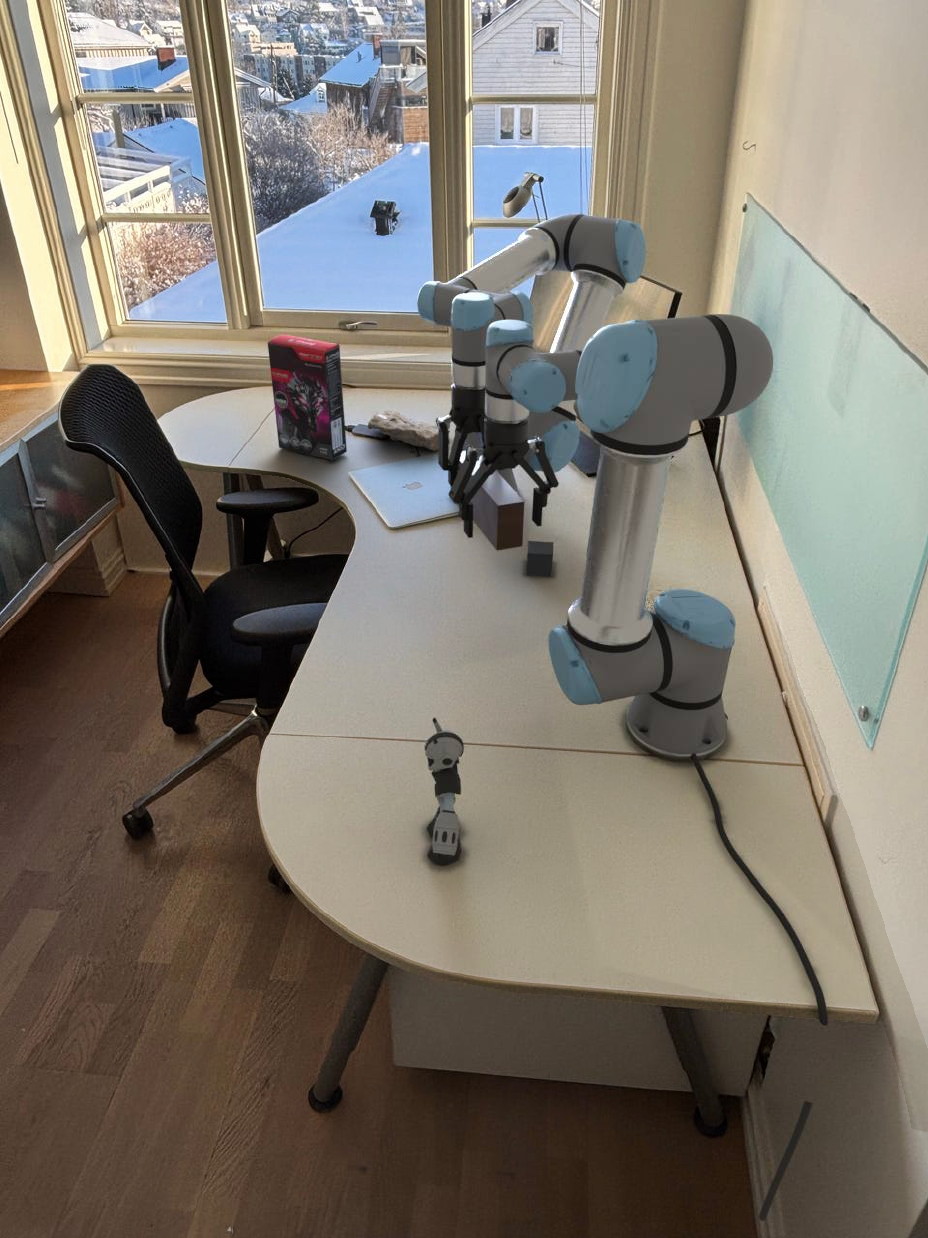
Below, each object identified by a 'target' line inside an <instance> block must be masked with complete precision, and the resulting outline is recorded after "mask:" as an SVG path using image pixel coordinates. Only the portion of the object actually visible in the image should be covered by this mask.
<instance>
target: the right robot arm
mask: <svg viewBox="0 0 928 1238" xmlns="http://www.w3.org/2000/svg"><path fill="white" fill-rule="evenodd" d="M534 343H535V339H534V329H533V326H532V325H531V324H528V323H526V322H523V321H518V320H501V321H497V322H494V323H492V324H491V325H489V327H488V329H487V337H486V345H485V348H486V370H485V415H486V417H485V419H484V444H483V446H482V447H480V448H473V447H472V446H470V445H469V446H467V447H466V453H465V459H464V461H463V463H462V466H461V468H460V470H459V472H458V474H457V477H456V479H455V481H454V483H453V485H452V487H451V486H450V489H449V492H448V497H449V499H450V500H451V501H452V502H453V503H454V504H457V503H458V515H459V518H460V519H461V520H462V521H463V533H465V535H466V537H467V538H468V539H471V538H474V521H473V504H472V502H471V499H472V498H473V497H474V496H475V494H476V493H477V492H478V490H479V489H480V488H481V486H482V485H483V484H484V482H485V481H486V480H487V478H488V477H489V476H490V475H492V474H493V473H494V472H495V471H496V469H498V470H499V471H500V470H504V469H507V468H509V469H512V470H515V469H516V467H518V466H520V468H522V470H524V472H525V473H526V475H528V476H529V477H530V478H531V480H532V481H533V482H534V483H535V484H536V486H537V487H533V489H532V490H533V493H532V510H531V521H532V522H533V523H534V524H535V525H536V527H542V524H543V523H542V522H543V508H546V507H547V506H548V495H550V494H551V492H552V489H555V488H558V487H559V484H560V483H559V481H558V479H557V475H556V474H555V473H554V472H553V469H552V467H551V465H550V462H549V460H548V458H547V456H546V453H545V442H544V441H543V440H541V439H540V438H539V437H538V436H535V437H534V438H533V440H530V441H528V440H527V438H528V429H529V419H528V416H529V411H531V412H534V413H546V412H549V411H550V410H552V409H553V408H555V407H557V406H558V405H559V404H560V403H561V401H570V400H575V403H576V407H577V412H578V415H579V417H580V420H581V422H582V423H583V424H584V426H585V427H586V428H587V429H589V435H590V437H591V439H592V440H593V442H595V443H596V444H597V445H598V447H599V456H598V463H597V470H596V471H597V472H596V479H595V487H594V494H593V502H592V511H591V517H590V525H589V526H590V527H589V532H588V540H587V541H588V542H587V549H586V556H585V564H584V574H583V579H582V588H581V595H580V597H579V598H577V599H575V600H574V601H573V602H572V603H571V604H570V606H569V608H568V612H567V618H566V624H563V625H562V624H558V625H557V626H555V627H553V628H552V629H550V631H549V634H548V652H549V657H550V661H551V665H552V670H553V673H554V675H555V678H556V680H557V683H558V685H559V687H560V689H561V691H562V693H563V694H564V696H565V697H566V698H567V700H568V701H569V702H571V703H572V704H574V705H576V706H589V705H601V704H603V703H608V702H612V701H618V700H622V699H627V698H632V697H633V699H632V701H631V702H630V704H629V706H628V708H627V711H626V719H625V728H626V732H627V734H628V736H629V738H630V739H631V741H632V742H634V744H636V745H637V746H638V747H639V748H640V749H641V750H643V751H645V752H646V753H648V754H650V755H651V756H654V757H656V758H659V759H662V760H666V761H670V762H675V763H692V764H693V765H694V768H695V770H696V772H697V774H698V777H699V778H700V781H701V783H702V785H703V788H704V789H705V791H706V793H707V796H708V798H709V801H710V803H711V807H712V811H713V816H714V821H715V825H716V830H717V833H718V835H719V838H720V840H721V842H722V844H723V845H724V847H725V849H726V850H727V853H728V854H729V855H730V857H731V858H732V860H733V861H734V863H735V864H736V865H737V866H738V868H739V869H740V871H741V872H742V873H743V875H744V876H745V877H746V879H747V880H748V881H749V883H750V884H751V885H752V887H753V888H754V890H755V891H756V892H757V893H758V894H759V896H760V897H761V898H762V899H763V900H764V902H765V903H766V904H767V905H768V907H769V908H770V910H771V911H772V912H773V913H774V915H775V916H776V917H777V919H778V921H779V922H780V924H781V926H782V927H783V929H784V930H785V932H786V934H787V935H788V937H789V939H790V940H791V943H792V944H793V946H794V948H795V951H796V952H797V954H798V957H799V959H800V961H801V964H802V966H803V969H804V971H805V973H806V976H807V978H808V980H809V983H810V985H811V987H812V990H813V994H814V997H815V1001H816V1006H817V1012H818V1013H817V1014H818V1021H819V1023H820V1025H822V1026H825V1027H826V1026H828V1025H829V1018H828V1010H827V1004H826V999H825V996H824V992H823V990H822V986H821V984H820V982H819V979H818V977H817V974H816V972H815V970H814V968H813V965H812V963H811V961H810V959H809V957H808V954H807V951H806V949H805V948H804V946H803V944H802V942H801V940H800V938H799V937H798V935H797V932H796V931H795V929H794V928H793V925H792V924H791V923H790V921H789V920H788V918H787V916H786V915H785V914H784V912H783V911H782V909H781V908H780V907H779V905H778V904H777V902H776V901H775V900H774V899H773V898H772V896H771V895H770V894H769V892H768V891H767V890H766V889H765V887H763V885H762V884H761V883H760V882H759V880H758V879H757V878H756V876H755V874H754V873H753V872H752V871H751V869H750V868H749V867H748V866H747V864H746V863H745V861H743V859H742V857H741V856H740V855H739V854H738V852H737V851H736V849H735V848H734V846H733V844H732V843H731V841H730V839H729V837H728V834H727V832H726V830H725V827H724V822H723V818H722V812H721V808H720V805H719V802H718V798H717V796H716V794H715V791H714V789H713V787H712V786H711V783H710V781H709V779H708V776H707V775H706V772H705V770H704V768H703V766H702V764H701V762H700V761H703V760H706V759H709V758H711V757H714V755H716V754H718V752H720V751H721V750H722V748H723V747H724V744H725V743H726V740H727V739H726V738H727V734H728V721H729V717H728V715H727V713H726V712H725V708H724V707H725V706H724V701H723V692H724V686H725V682H726V678H727V672H728V668H729V663H730V658H731V654H732V651H733V650H732V649H733V647H734V645H735V642H736V641H735V635H736V617H735V616H734V614H733V612H732V611H731V609H730V608H729V607H728V606H727V605H726V604H725V603H723V602H722V601H720V600H719V599H717V598H715V597H713V596H711V595H709V594H706V593H703V592H701V591H697V590H692V589H683V588H675V589H674V588H673V589H667V590H665V591H663V592H661V593H660V594H659V595H658V596H657V597H656V599H655V600H654V602H653V609H650V610H649V609H648V608H647V607H646V603H647V602H646V601H647V595H648V591H649V585H650V580H651V573H652V568H653V562H654V558H655V551H656V545H657V541H658V534H659V530H660V525H661V519H662V513H663V506H664V501H665V496H666V490H667V486H668V481H669V474H670V469H671V463H672V458H673V456H674V455H677V454H678V453H680V452H681V451H683V450H684V449H685V448H686V447H687V444H688V443H689V437H690V431H691V428H692V423H693V422H694V421H701V420H707V419H714V418H720V417H724V416H725V417H726V416H728V415H729V416H730V415H733V414H735V413H737V412H739V411H741V410H744V409H745V408H747V407H749V406H750V405H752V404H753V403H754V402H755V401H756V400H757V399H758V398H759V397H760V396H761V395H762V394H763V393H764V391H765V390H766V388H767V386H768V384H769V382H770V379H771V378H772V374H773V369H774V354H773V348H772V345H771V342H770V341H769V339H768V337H767V336H766V334H765V332H764V331H763V329H761V328H760V327H759V326H758V325H756V324H755V323H754V322H752V321H751V320H748V319H746V318H744V317H741V316H738V315H733V314H727V313H726V314H724V313H714V314H713V313H711V314H705V315H693V316H682V317H681V316H680V317H669V318H657V319H656V318H655V319H642V318H641V319H640V318H639V319H638V318H637V319H632V320H628V321H625V322H621V323H614V324H609V325H605V326H603V327H602V328H601V329H600V330H598V331H597V332H596V334H594V335H593V336H592V337H591V338H590V339H589V341H588V342H587V344H586V346H585V348H584V349H583V350H570V351H560V352H550V351H549V352H538V351H537V350H536V349H535V348H534ZM529 448H531V450H532V451H533V452H535V455H536V457H537V459H538V461H539V464H540V466H541V468H542V470H543V472H542V473H543V475H544V477H545V479H544V480H543V478H542V477H541V476H540V475H539V474H538V473H537V471H535V470H533V468H532V467H531V466H530V465H529V464H528V462H527V461H526V460H525V459H524V456H525V455H526V454H527V452H528V451H529ZM481 455H484V456H485V458H484V459H483V461H482V462H481V464H480V467H479V468H478V470H477V471H476V472H475V474H474V475H473V476H472V478H471V479H470V477H471V475H472V472H473V470H474V468H475V466H476V462H477V461H479V458H480V456H481ZM489 464H491V465H490V466H489ZM469 479H470V480H469ZM468 481H469V482H468ZM812 1106H813V1102H811V1101H806V1100H803V1103H802V1107H801V1111H800V1113H799V1116H798V1119H797V1121H796V1125H795V1127H794V1129H793V1132H792V1135H791V1137H790V1139H789V1142H788V1144H787V1147H786V1149H785V1150H784V1151H785V1152H784V1154H783V1156H782V1158H781V1160H780V1162H779V1165H778V1167H777V1169H776V1172H775V1174H774V1176H773V1179H772V1181H771V1184H770V1186H769V1189H768V1191H767V1193H766V1195H765V1196H766V1197H765V1199H764V1201H763V1204H762V1206H761V1209H760V1212H759V1215H758V1219H759V1220H760V1221H761V1222H765V1221H766V1220H767V1217H768V1214H769V1212H770V1209H771V1206H772V1204H773V1202H774V1199H775V1197H776V1194H777V1193H778V1190H779V1187H780V1185H781V1183H782V1181H783V1179H784V1176H785V1174H786V1172H787V1169H788V1167H789V1164H790V1162H791V1160H792V1158H793V1156H794V1153H795V1151H796V1149H797V1147H798V1144H799V1142H800V1139H801V1137H802V1135H803V1131H804V1129H805V1127H806V1124H807V1121H808V1118H809V1116H810V1112H811V1110H812V1108H813V1107H812Z"/></svg>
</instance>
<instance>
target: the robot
mask: <svg viewBox="0 0 928 1238" xmlns="http://www.w3.org/2000/svg"><path fill="white" fill-rule="evenodd" d="M432 723H433V725H434V728H435V731H436V733H434V734H432V735H431V736H430V737H429V738H428V739H426V742H425V745H424V747H423V749H424V752H425V753H424V755H425V757H426V758H427V769H428V770H429V771H430V772H431V776H432V779H433V780H434V782H435V783H434V797H435V798H436V800H437V803H438V805H439V806H438V808H437V810H436V811H435V814H434V817H433V819H432V820H431V821H430V822H429V823H428V825H427V827H426V830H427V833H428V835H429V837H430V838H432V841H431V846H430V847H429V850H428V852H427V858H428V860H430V861H431V862H432V864H434V865H437V866H441V867H442V866H448V865H450V864H453V863H455V862H457V861H459V860H460V856H461V854H462V846H461V841H460V837H459V836H460V833H461V830H460V820H459V815H458V813H456V811H455V807H454V805H455V803H456V795H457V796H459V795H462V782H461V781H462V780H461V776H460V774H459V769H458V768H459V767H458V765H459V764H460V758H462V755H463V754H464V749H465V746H464V745H465V744H464V741H463V739H462V738H461V737H460V736H459V734H457V733H455V732H453V731H451V730H443V729H442V727H441V725H440V723H439V721H438V720H437V718H436V717H433V718H432Z"/></svg>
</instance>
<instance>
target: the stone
mask: <svg viewBox="0 0 928 1238" xmlns="http://www.w3.org/2000/svg"><path fill="white" fill-rule="evenodd" d="M367 429H369V430H378V431H380V433H381V434H383V435H386V436H389V437H390V440H392V441H401V442H403V443H405V444H409V445H411V446H414V447H419V448H422V447H423V448H425V449H428V450H430V451H437V450H439V429H438V426H437V424H429V423H425V422H419V421H415V420H412V418H408V417H406V416H404V415H403V414H401V413H400V412H397V411H393V410H384V411H376V412H375V413H374V414H373V415H372V416H371V417H370V419H369V421H368V422H367ZM450 431H451V430H450V429H448V432H449V433H450Z"/></svg>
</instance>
